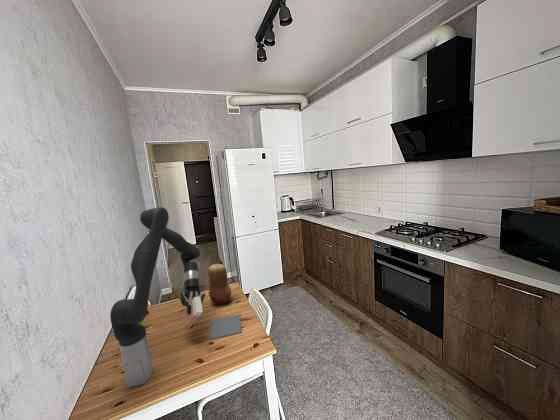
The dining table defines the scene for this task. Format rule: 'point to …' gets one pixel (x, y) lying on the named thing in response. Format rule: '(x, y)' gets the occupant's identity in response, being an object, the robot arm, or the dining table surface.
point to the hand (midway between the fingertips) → (193, 313)
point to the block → (192, 312)
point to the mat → (225, 327)
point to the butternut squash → (218, 284)
